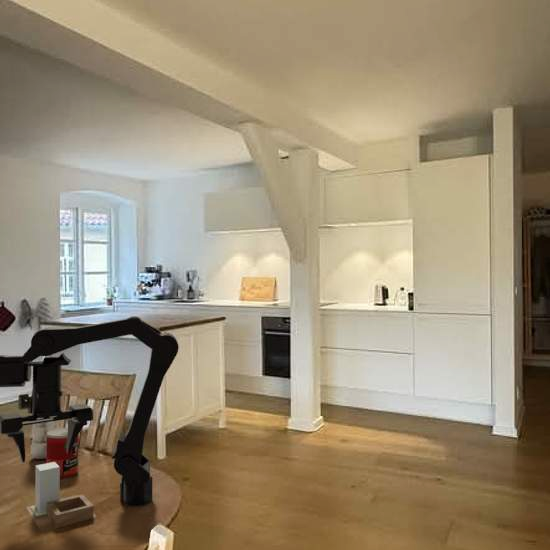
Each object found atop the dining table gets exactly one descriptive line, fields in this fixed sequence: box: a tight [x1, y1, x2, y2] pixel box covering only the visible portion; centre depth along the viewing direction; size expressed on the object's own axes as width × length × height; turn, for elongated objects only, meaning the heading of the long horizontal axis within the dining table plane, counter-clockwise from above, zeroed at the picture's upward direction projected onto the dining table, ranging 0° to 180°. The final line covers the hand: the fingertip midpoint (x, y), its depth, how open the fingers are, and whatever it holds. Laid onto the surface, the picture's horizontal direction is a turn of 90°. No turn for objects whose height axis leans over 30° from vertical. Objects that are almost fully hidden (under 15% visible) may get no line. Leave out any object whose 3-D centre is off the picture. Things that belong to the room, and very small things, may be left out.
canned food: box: [45, 427, 80, 479], centre depth 139 cm, size 8×8×11 cm
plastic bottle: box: [30, 416, 56, 460], centre depth 151 cm, size 6×7×20 cm
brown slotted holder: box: [25, 493, 98, 533], centre depth 114 cm, size 14×11×4 cm
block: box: [34, 462, 61, 513], centre depth 115 cm, size 4×4×9 cm
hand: (46, 457), depth 115 cm, fingers open, 9 cm apart
